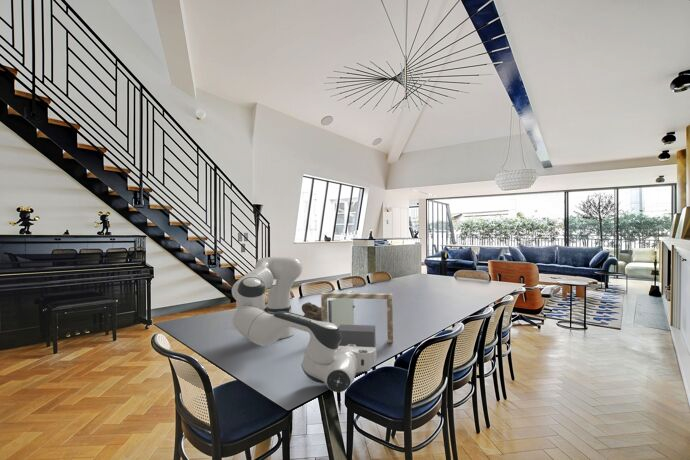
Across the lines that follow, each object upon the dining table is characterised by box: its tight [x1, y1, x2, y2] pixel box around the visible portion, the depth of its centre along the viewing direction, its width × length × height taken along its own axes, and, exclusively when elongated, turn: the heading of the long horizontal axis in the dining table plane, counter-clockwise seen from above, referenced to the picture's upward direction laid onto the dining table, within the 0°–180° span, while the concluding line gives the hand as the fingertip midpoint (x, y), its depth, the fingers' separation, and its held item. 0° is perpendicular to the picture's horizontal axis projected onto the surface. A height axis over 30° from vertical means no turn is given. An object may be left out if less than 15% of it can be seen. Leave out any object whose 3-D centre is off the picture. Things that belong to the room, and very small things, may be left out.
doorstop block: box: [339, 324, 377, 348], centre depth 135 cm, size 16×9×9 cm, turn 80°
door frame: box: [320, 292, 394, 344], centre depth 144 cm, size 33×2×22 cm, turn 80°
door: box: [327, 290, 356, 327], centre depth 158 cm, size 27×3×18 cm, turn 155°
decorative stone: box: [301, 301, 322, 321], centre depth 179 cm, size 16×11×15 cm
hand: (352, 346), depth 122 cm, fingers closed
